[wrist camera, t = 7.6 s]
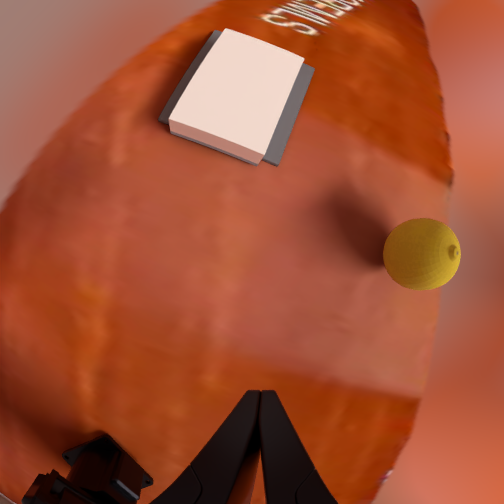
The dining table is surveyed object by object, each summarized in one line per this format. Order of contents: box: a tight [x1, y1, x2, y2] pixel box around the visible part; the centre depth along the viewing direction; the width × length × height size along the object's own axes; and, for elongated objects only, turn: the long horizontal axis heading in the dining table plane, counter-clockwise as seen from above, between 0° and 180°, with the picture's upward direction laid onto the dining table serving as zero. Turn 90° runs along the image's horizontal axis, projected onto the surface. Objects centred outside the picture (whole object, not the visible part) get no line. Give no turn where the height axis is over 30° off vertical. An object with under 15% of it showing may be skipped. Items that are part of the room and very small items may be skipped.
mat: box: [158, 30, 315, 166], centre depth 22 cm, size 11×10×1 cm
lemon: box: [383, 218, 460, 290], centre depth 20 cm, size 6×6×8 cm
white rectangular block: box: [169, 28, 304, 166], centre depth 20 cm, size 2×7×10 cm
